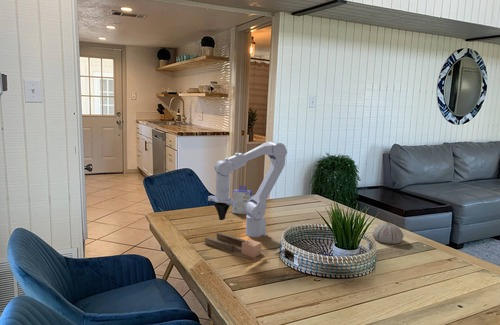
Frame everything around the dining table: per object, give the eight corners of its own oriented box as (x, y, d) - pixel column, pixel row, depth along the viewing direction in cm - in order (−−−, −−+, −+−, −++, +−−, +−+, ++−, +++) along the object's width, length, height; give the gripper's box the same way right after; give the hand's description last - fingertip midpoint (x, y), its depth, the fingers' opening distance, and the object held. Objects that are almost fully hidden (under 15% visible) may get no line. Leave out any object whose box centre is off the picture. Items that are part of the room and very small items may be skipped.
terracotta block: (248, 249, 157) (249, 239, 157) (261, 253, 154) (261, 242, 153) (241, 253, 153) (241, 242, 153) (253, 257, 150) (254, 246, 149)
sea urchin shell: (392, 248, 168) (394, 230, 166) (365, 238, 178) (367, 222, 176) (408, 242, 176) (410, 225, 174) (381, 233, 186) (383, 217, 185)
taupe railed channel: (220, 237, 172) (220, 230, 171) (270, 253, 157) (270, 245, 156) (199, 247, 161) (199, 239, 160) (251, 264, 146) (251, 255, 145)
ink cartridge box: (251, 212, 211) (252, 186, 209) (249, 215, 206) (250, 188, 203) (233, 210, 213) (234, 184, 211) (231, 213, 208) (232, 186, 205)
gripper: (203, 187, 166) (203, 218, 168) (230, 193, 158) (229, 225, 160) (214, 184, 172) (213, 214, 174) (240, 190, 163) (239, 221, 166)
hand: (221, 219), depth 167 cm, fingers closed
